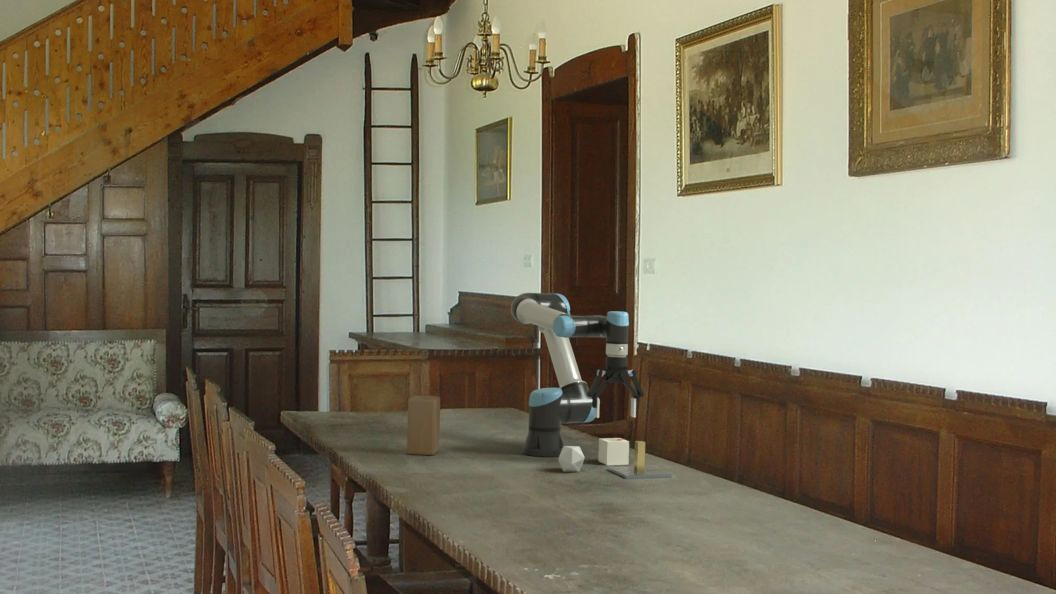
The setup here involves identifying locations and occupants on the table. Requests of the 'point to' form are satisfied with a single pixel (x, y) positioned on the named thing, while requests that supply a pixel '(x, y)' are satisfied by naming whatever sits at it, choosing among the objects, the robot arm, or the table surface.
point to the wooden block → (423, 425)
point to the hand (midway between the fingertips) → (614, 417)
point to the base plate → (639, 466)
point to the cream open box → (613, 451)
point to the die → (571, 459)
